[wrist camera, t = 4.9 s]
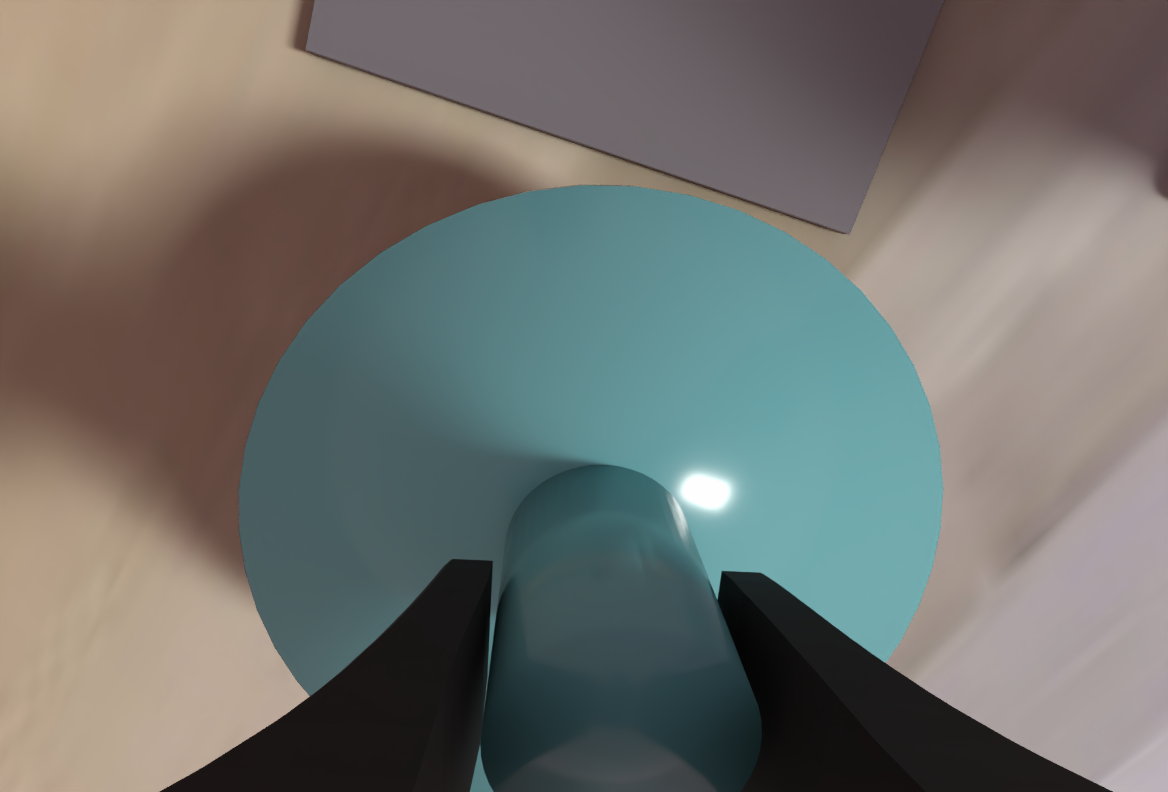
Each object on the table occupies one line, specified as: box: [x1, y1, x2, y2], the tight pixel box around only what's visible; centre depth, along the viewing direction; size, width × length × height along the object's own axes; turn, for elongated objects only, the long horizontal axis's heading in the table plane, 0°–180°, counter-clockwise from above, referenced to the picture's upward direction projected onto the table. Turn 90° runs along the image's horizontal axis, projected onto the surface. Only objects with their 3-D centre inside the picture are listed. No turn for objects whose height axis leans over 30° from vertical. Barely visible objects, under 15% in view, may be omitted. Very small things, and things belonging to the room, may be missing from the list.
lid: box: [239, 185, 943, 792], centre depth 10 cm, size 12×12×5 cm
